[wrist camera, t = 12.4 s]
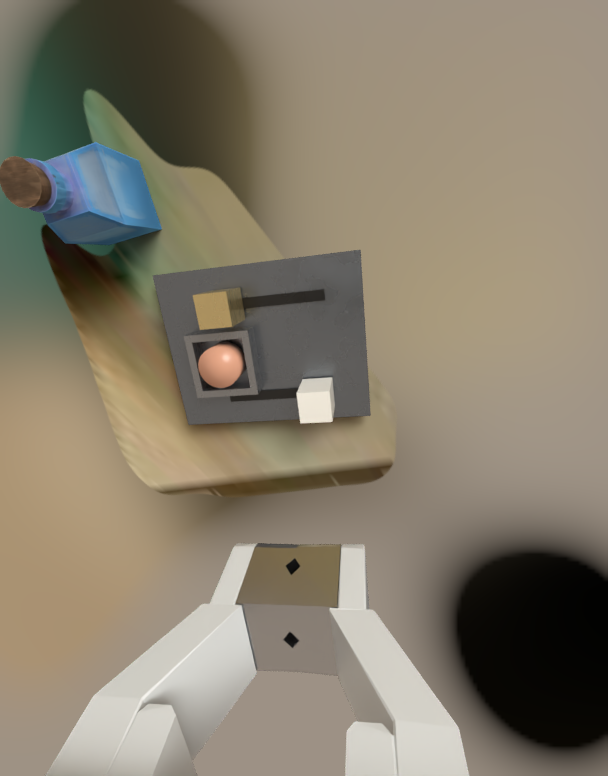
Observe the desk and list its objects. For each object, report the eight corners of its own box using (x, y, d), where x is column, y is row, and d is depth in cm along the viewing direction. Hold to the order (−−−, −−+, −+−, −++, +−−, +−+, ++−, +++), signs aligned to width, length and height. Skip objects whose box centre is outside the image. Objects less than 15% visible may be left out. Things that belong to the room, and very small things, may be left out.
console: (360, 250, 35) (360, 249, 30) (369, 404, 40) (371, 424, 35) (167, 274, 38) (141, 276, 33) (199, 413, 43) (180, 432, 39)
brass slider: (240, 287, 34) (225, 291, 31) (245, 319, 35) (232, 326, 32) (210, 290, 35) (192, 295, 31) (216, 322, 36) (199, 329, 32)
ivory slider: (332, 377, 36) (329, 391, 32) (334, 405, 37) (332, 421, 33) (302, 379, 37) (296, 393, 33) (306, 406, 38) (300, 423, 34)
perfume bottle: (109, 245, 38) (6, 240, 27) (84, 179, 36) (-38, 146, 25) (161, 229, 37) (76, 218, 26) (138, 160, 35) (35, 116, 24)
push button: (242, 340, 36) (234, 345, 34) (249, 378, 37) (242, 386, 35) (204, 343, 37) (194, 349, 34) (212, 380, 38) (203, 389, 36)
